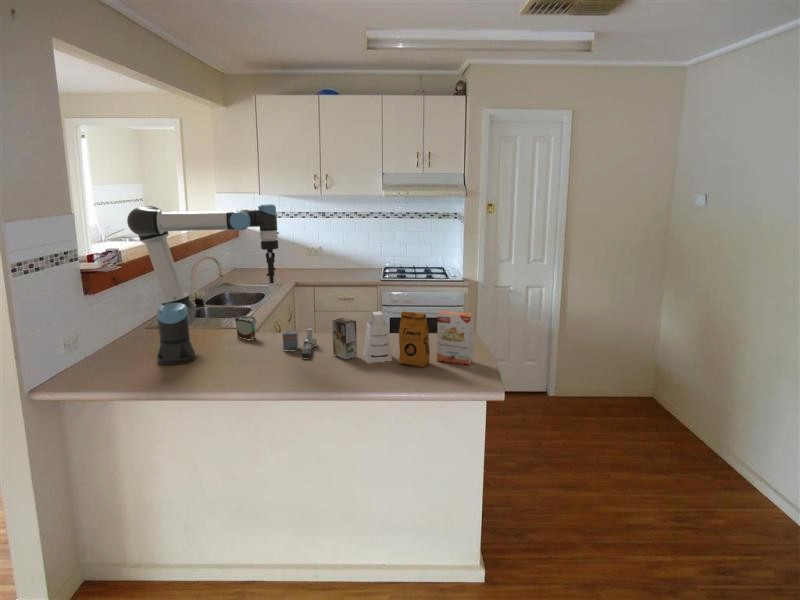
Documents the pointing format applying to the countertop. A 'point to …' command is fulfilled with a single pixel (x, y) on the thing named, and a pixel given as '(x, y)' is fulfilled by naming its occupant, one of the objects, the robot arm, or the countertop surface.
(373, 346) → the grater
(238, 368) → the countertop surface
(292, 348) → the red-striped grey cube
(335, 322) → the coffee box
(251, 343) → the countertop surface
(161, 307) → the robot arm
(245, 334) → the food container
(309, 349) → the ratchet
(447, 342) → the cracker box
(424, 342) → the coffee package
